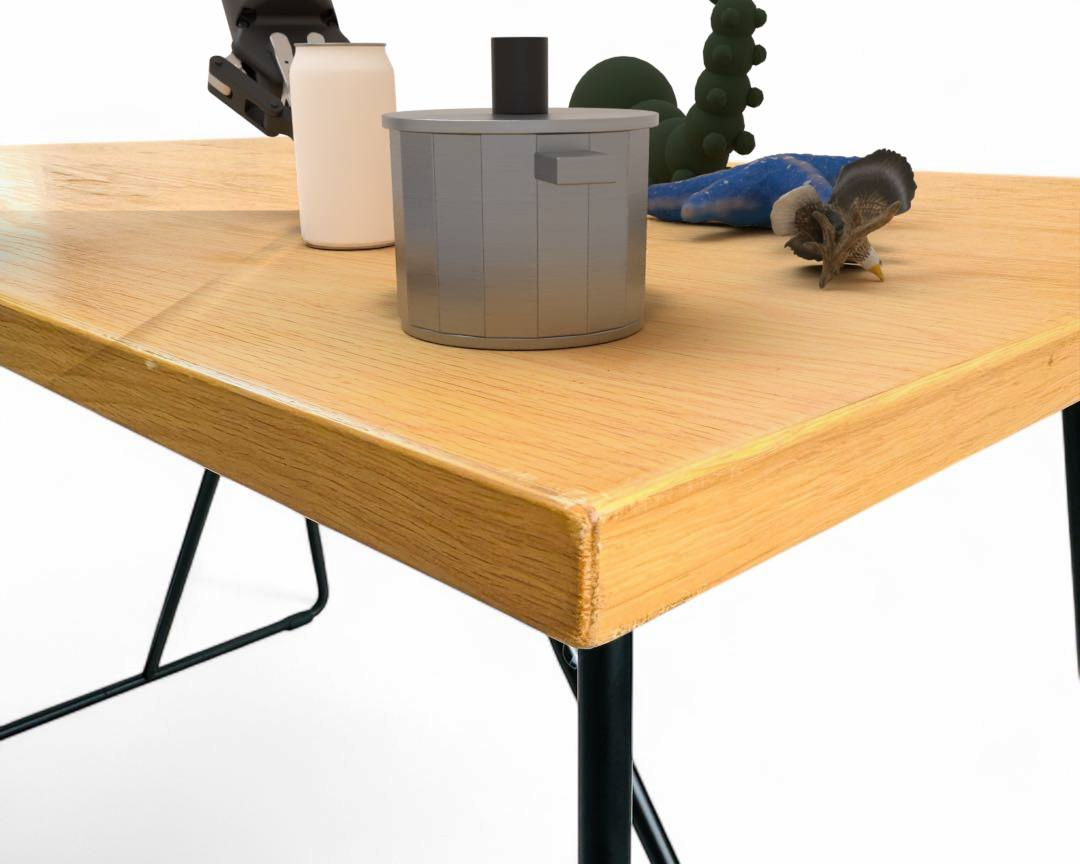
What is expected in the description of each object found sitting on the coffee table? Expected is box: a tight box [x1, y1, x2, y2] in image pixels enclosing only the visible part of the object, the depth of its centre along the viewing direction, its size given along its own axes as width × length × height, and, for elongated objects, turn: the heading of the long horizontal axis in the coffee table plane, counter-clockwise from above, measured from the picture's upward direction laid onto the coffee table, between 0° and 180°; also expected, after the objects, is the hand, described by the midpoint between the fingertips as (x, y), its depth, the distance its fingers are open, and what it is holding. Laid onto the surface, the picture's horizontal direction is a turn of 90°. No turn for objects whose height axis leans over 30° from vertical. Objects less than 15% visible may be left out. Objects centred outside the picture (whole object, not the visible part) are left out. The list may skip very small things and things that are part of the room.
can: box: [289, 42, 398, 251], centre depth 76 cm, size 6×6×12 cm
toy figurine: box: [567, 0, 768, 187], centre depth 100 cm, size 9×19×25 cm
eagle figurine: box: [770, 147, 918, 290], centre depth 65 cm, size 8×7×9 cm
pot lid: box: [382, 36, 659, 134], centre depth 51 cm, size 12×12×4 cm
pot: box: [389, 128, 649, 351], centre depth 53 cm, size 11×16×8 cm
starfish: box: [647, 152, 913, 228], centre depth 84 cm, size 19×19×5 cm
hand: (328, 174), depth 81 cm, fingers closed
